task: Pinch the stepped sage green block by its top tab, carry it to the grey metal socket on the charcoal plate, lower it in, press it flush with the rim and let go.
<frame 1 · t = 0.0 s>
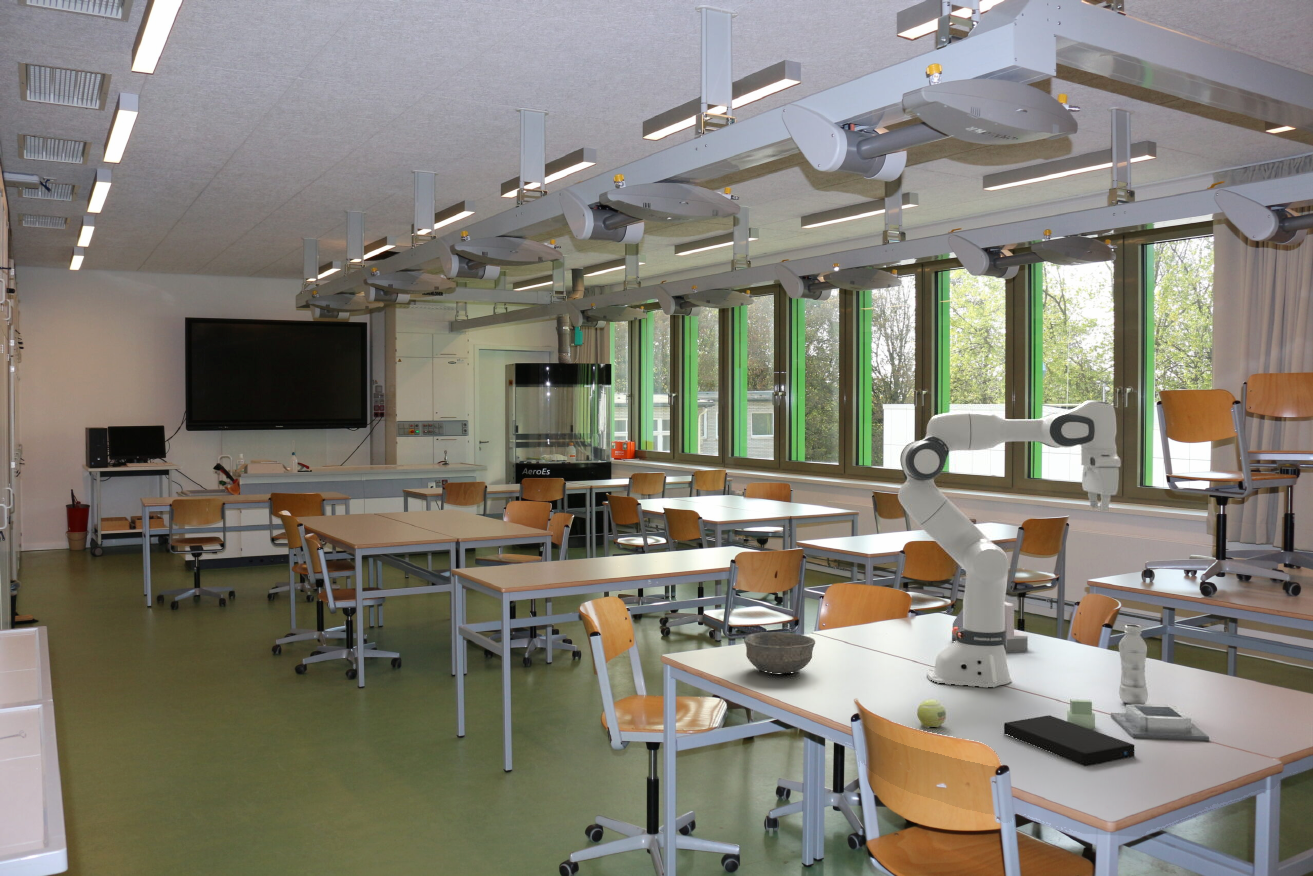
hand: (1099, 509, 261), 48 cm above the table, tool pointing down, fingers open, 8 cm apart
external hard drive: (1067, 747, 211), on the table
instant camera: (987, 646, 308), on the table
bowl: (779, 673, 275), on the table
tennis ball: (931, 726, 225), on the table
plastic bottle: (1133, 705, 241), on the table
stepped sage green block: (1081, 725, 225), on the table
cap socket: (1157, 728, 222), on the table
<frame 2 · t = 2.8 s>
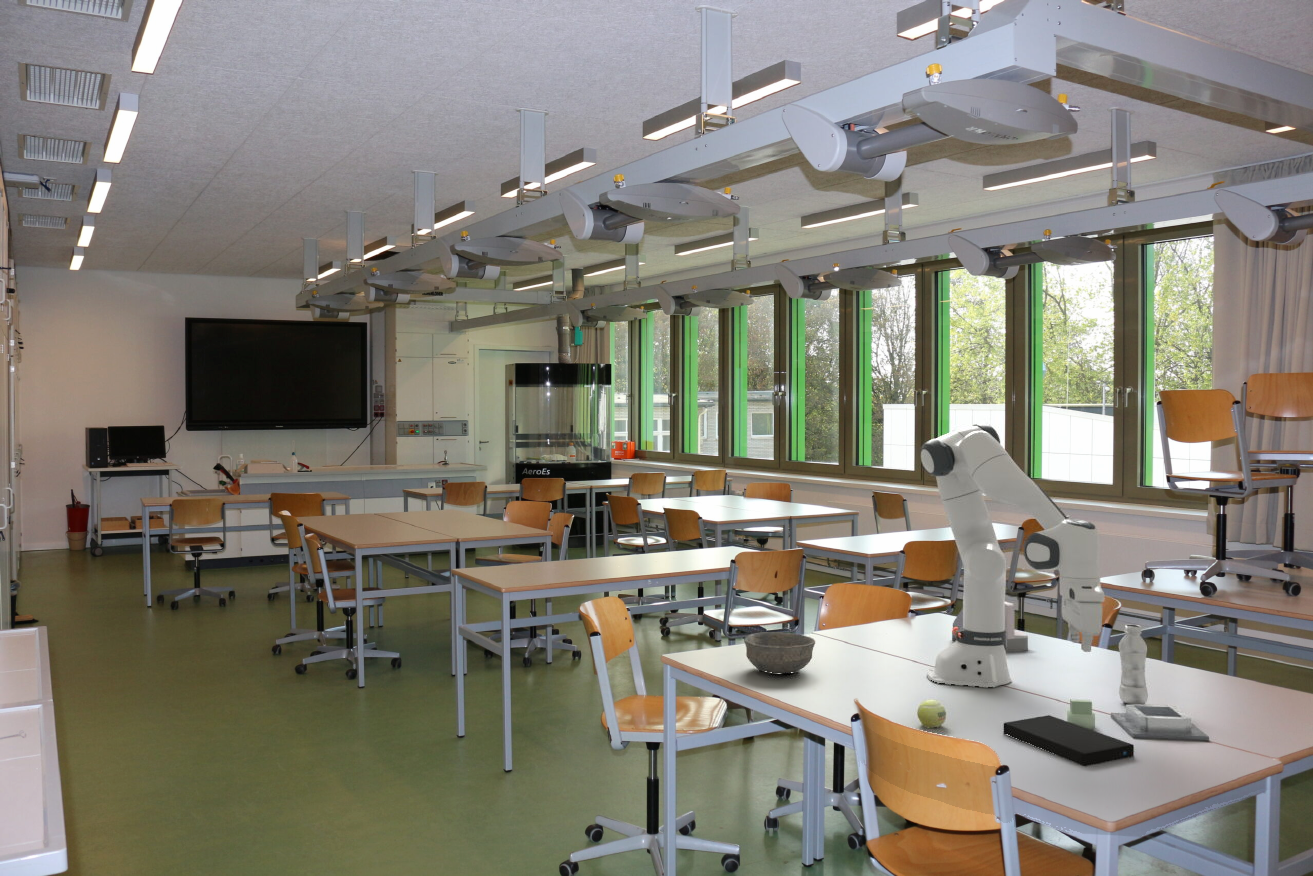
hand: (1080, 646, 224), 19 cm above the table, tool pointing down, fingers open, 8 cm apart
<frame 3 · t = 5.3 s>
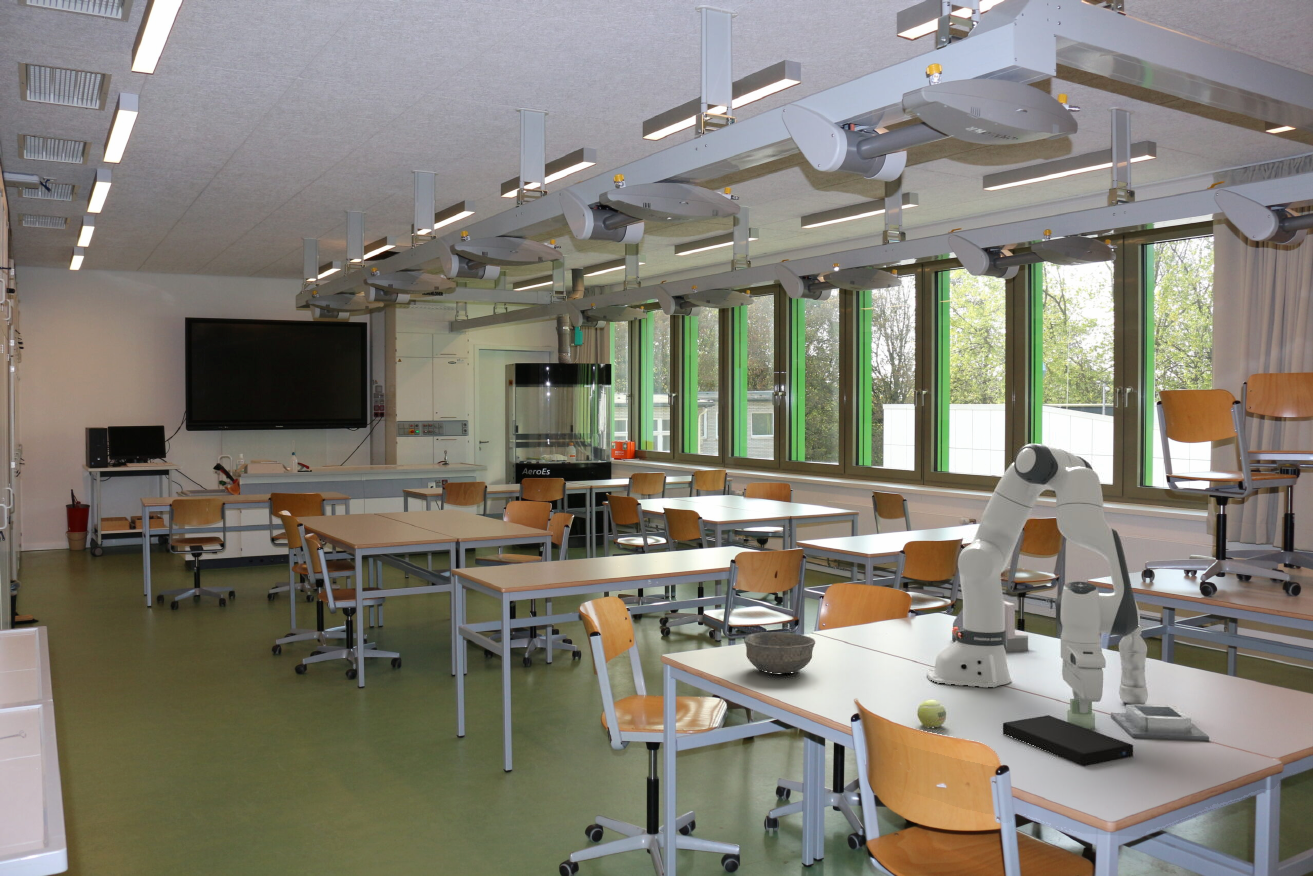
hand: (1081, 710, 225), 4 cm above the table, tool pointing down, fingers closed on stepped sage green block
stepped sage green block: (1081, 725, 225), on the table, touching gripper
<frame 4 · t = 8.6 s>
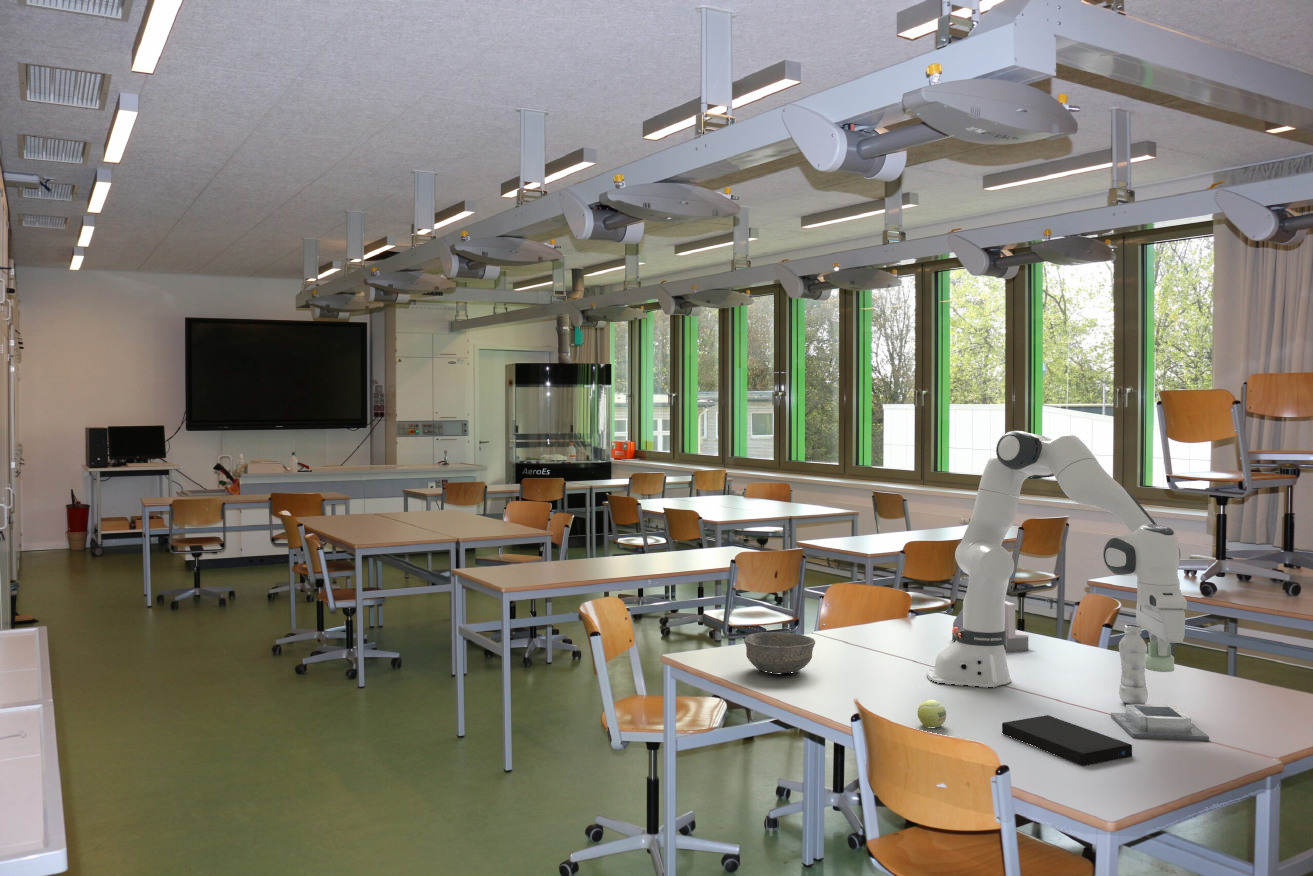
hand: (1159, 653, 222), 17 cm above the table, tool pointing down, fingers closed on stepped sage green block
stepped sage green block: (1159, 668, 222), point 14 cm above the table, touching gripper
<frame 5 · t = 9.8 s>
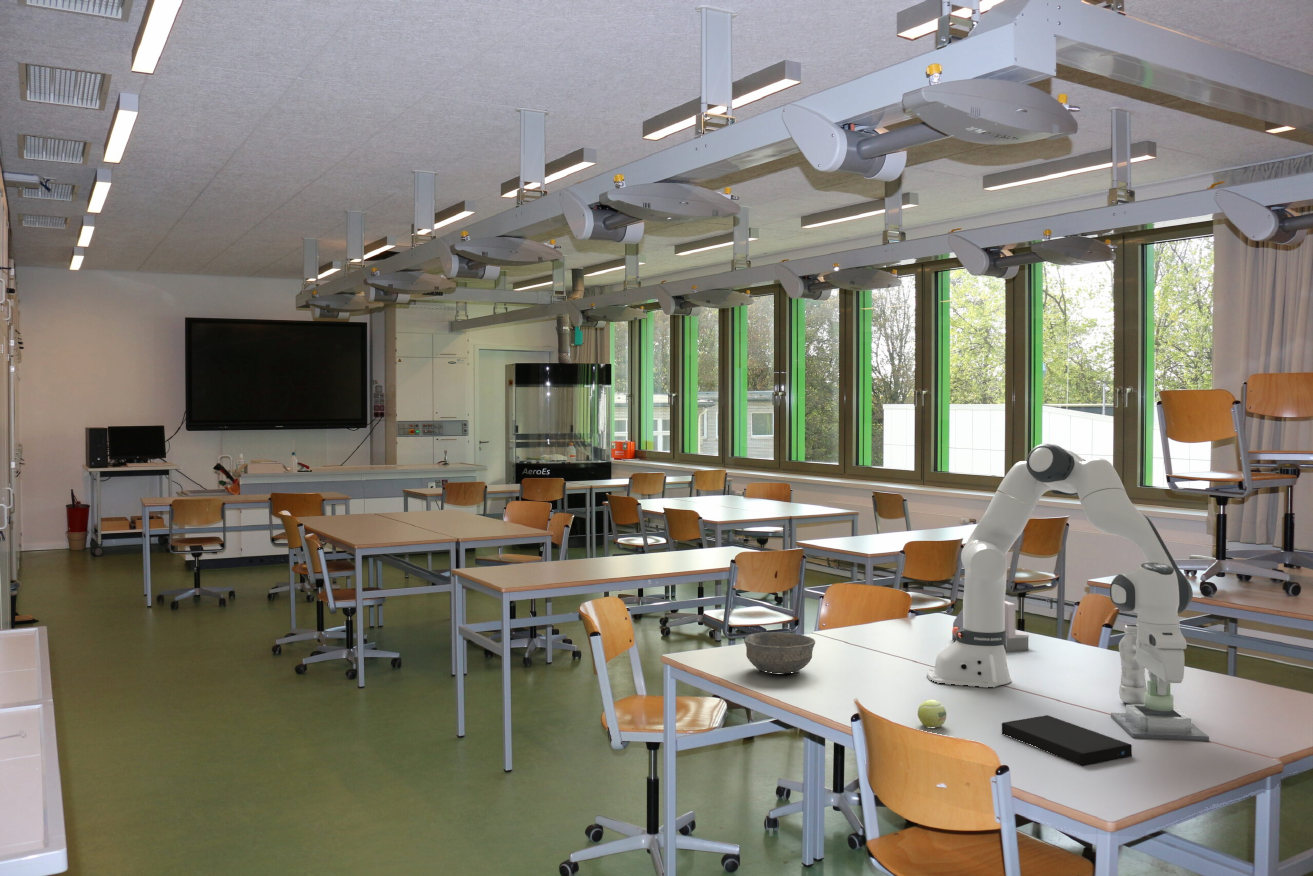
hand: (1158, 692, 222), 8 cm above the table, tool pointing down, fingers closed on stepped sage green block
stepped sage green block: (1158, 707, 222), point 5 cm above the table, touching gripper
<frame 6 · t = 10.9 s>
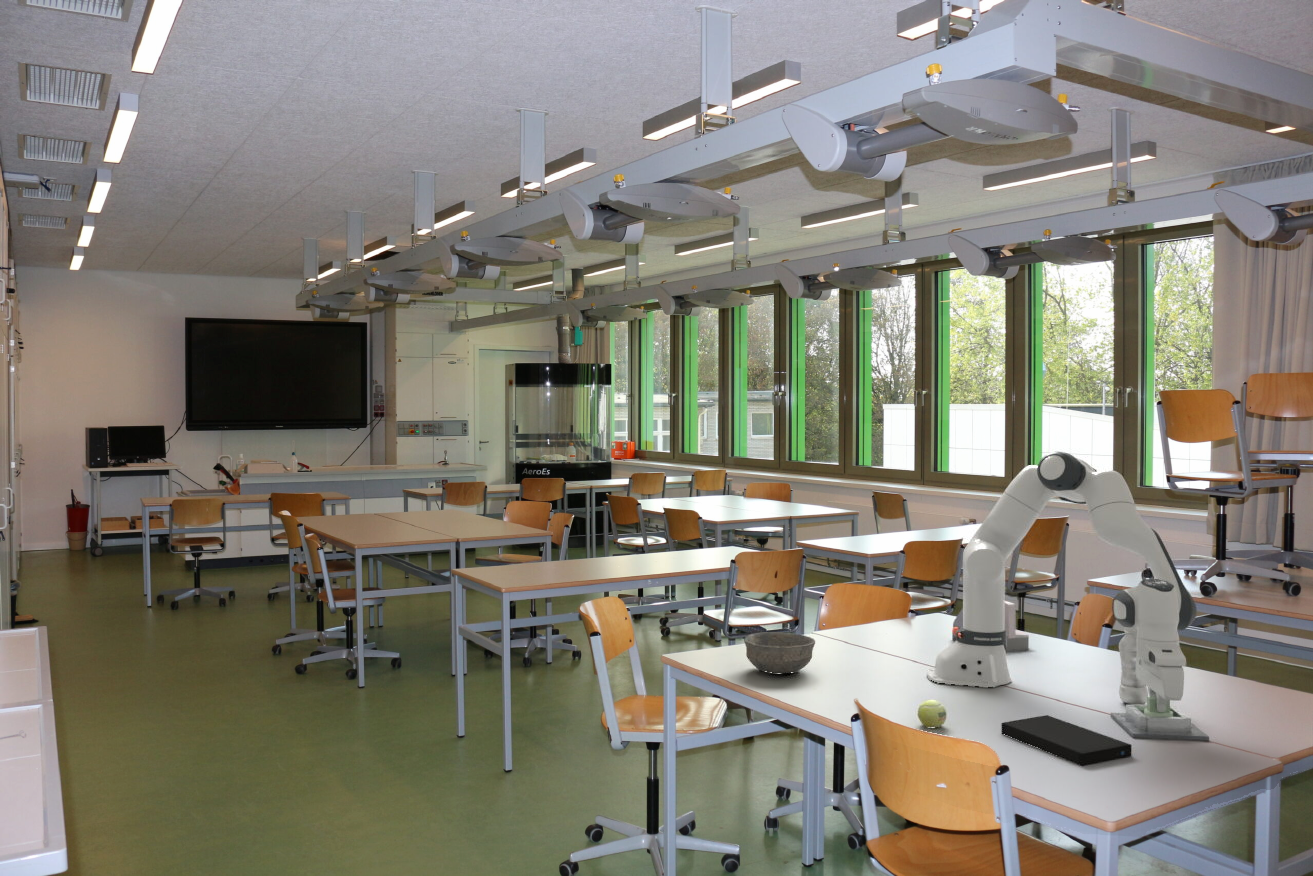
hand: (1157, 709, 222), 5 cm above the table, tool pointing down, fingers closed on stepped sage green block
stepped sage green block: (1158, 724, 222), point 1 cm above the table, touching cap socket, gripper
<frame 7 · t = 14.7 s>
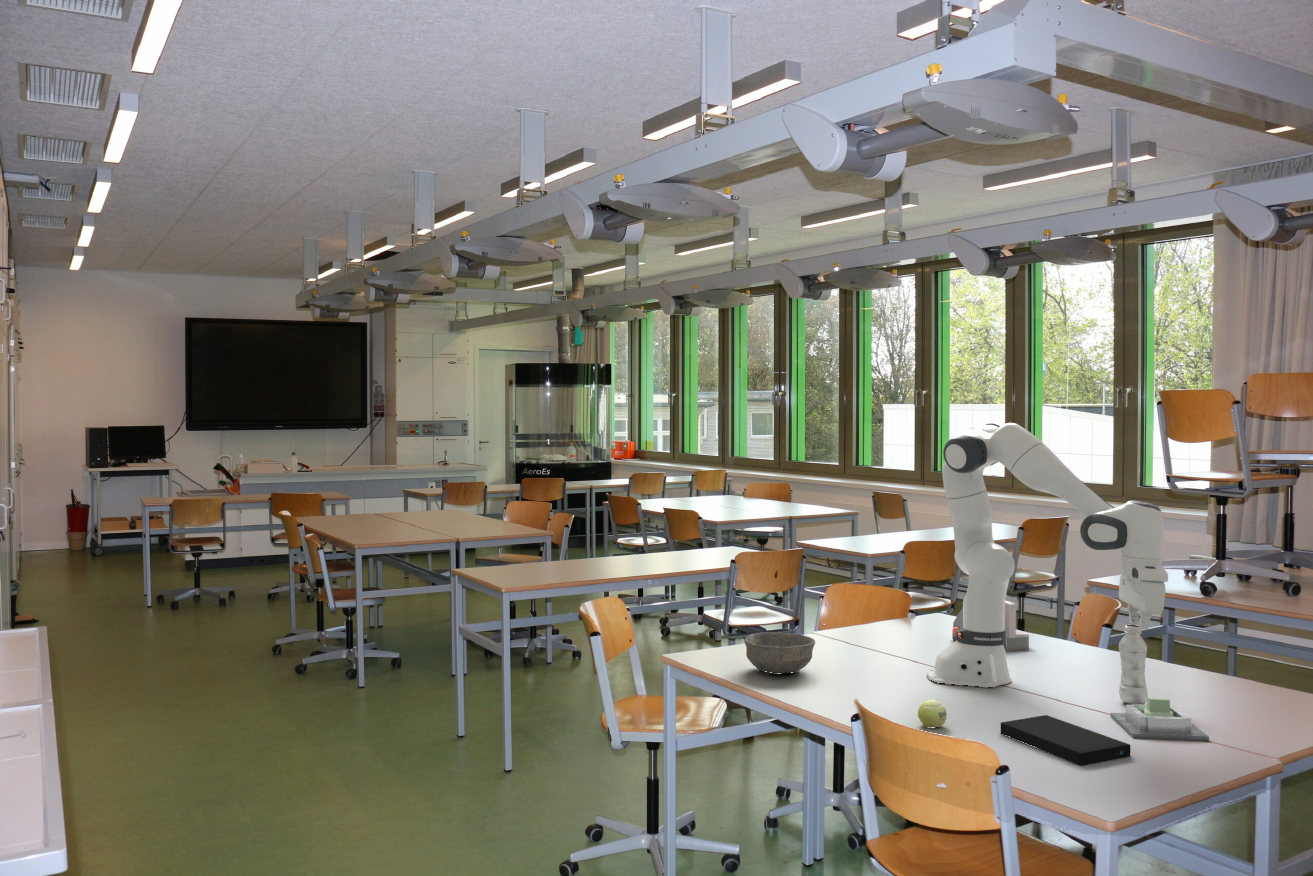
hand: (1138, 626, 228), 23 cm above the table, tool pointing down, fingers open, 5 cm apart
stepped sage green block: (1158, 724, 222), point 1 cm above the table, touching cap socket
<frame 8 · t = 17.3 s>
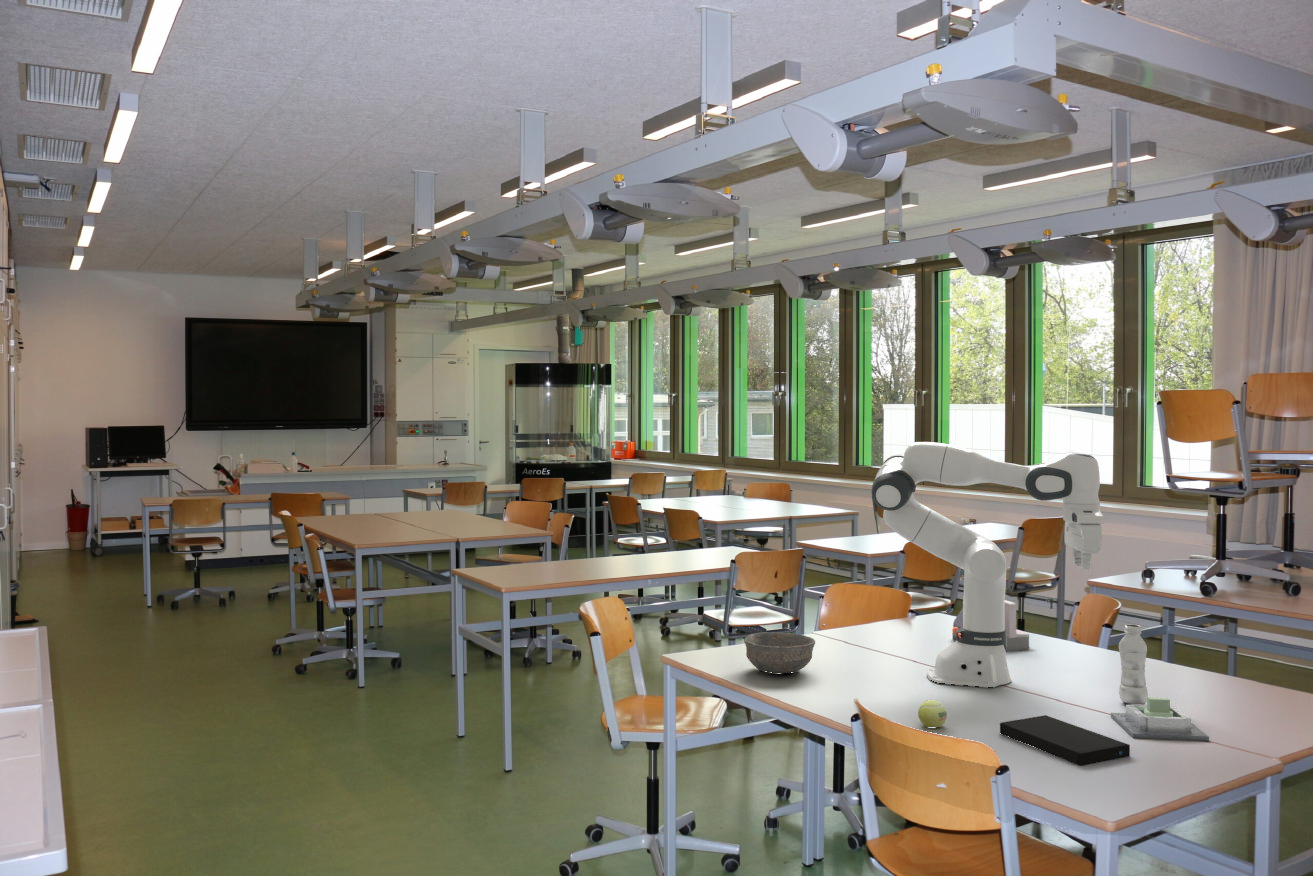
hand: (1081, 567, 248), 34 cm above the table, tool pointing down, fingers open, 5 cm apart
at the end: stepped sage green block 0.2 cm off-centre on the cap socket, point 1.0 cm above the cap socket's base; stepped sage green block tilted 0°; the gripper is holding nothing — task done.
